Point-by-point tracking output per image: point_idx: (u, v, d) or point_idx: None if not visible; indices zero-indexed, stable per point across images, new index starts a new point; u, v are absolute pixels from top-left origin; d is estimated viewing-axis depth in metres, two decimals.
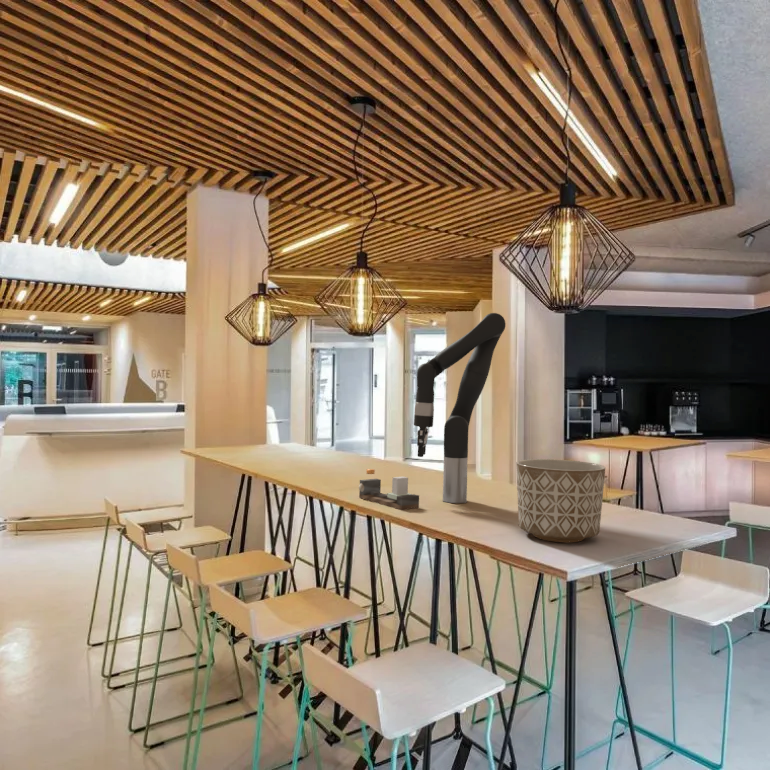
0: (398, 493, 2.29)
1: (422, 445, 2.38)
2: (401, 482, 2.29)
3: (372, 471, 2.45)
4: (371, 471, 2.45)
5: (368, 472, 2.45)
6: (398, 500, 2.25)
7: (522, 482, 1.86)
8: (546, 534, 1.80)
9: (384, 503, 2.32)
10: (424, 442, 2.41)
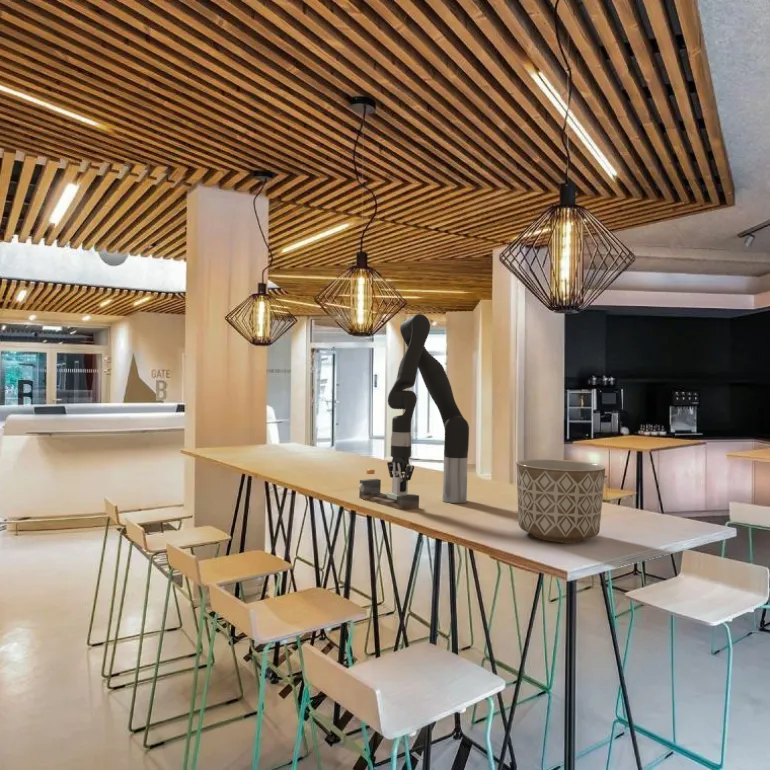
0: (398, 493, 2.29)
1: (390, 476, 2.34)
2: None
3: (372, 471, 2.45)
4: (371, 471, 2.45)
5: (368, 472, 2.45)
6: (398, 500, 2.25)
7: (522, 482, 1.86)
8: (546, 534, 1.80)
9: (384, 503, 2.32)
10: (394, 474, 2.32)
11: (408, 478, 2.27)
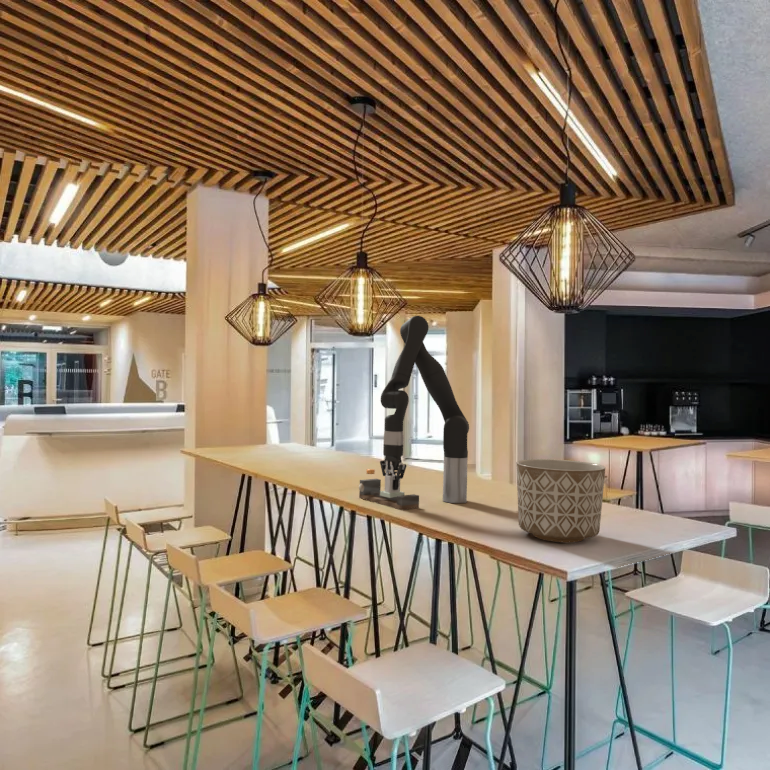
0: (390, 491, 2.32)
1: None
2: None
3: (372, 471, 2.45)
4: (371, 471, 2.45)
5: (368, 472, 2.45)
6: (398, 500, 2.25)
7: (522, 482, 1.86)
8: (546, 534, 1.80)
9: (384, 503, 2.32)
10: (387, 472, 2.35)
11: (400, 476, 2.31)
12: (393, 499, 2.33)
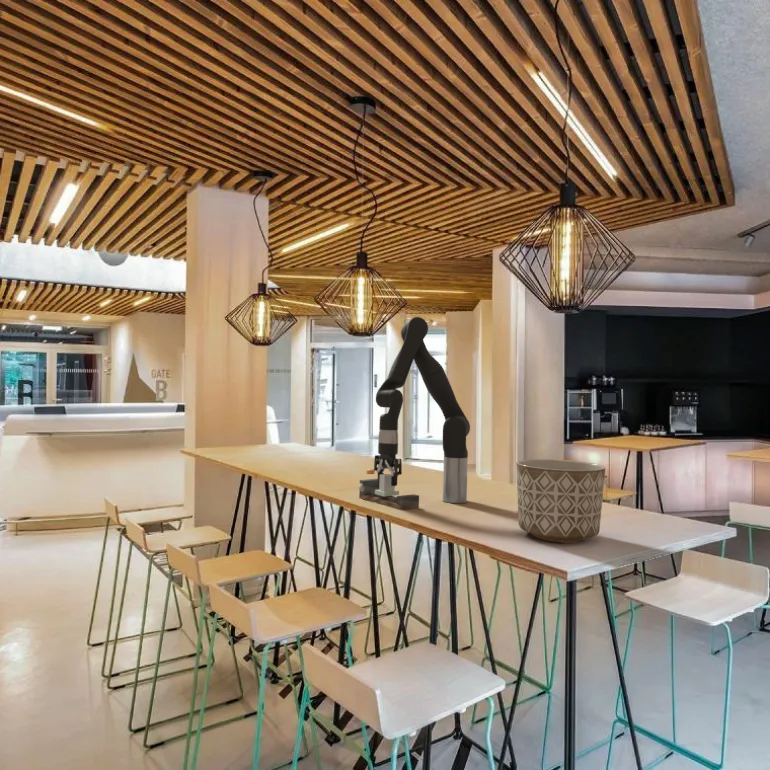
0: (385, 490, 2.35)
1: (374, 469, 2.42)
2: (388, 479, 2.36)
3: (372, 471, 2.45)
4: (371, 471, 2.45)
5: (368, 472, 2.45)
6: (398, 500, 2.25)
7: (522, 482, 1.86)
8: (546, 534, 1.80)
9: (384, 503, 2.32)
10: (379, 468, 2.39)
11: (399, 472, 2.32)
12: (393, 499, 2.33)
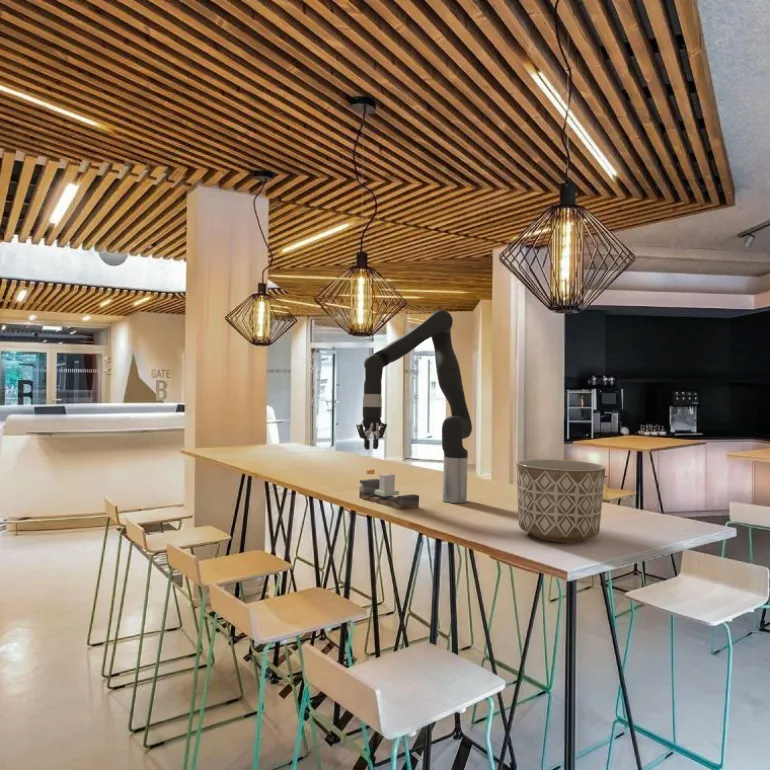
0: (385, 490, 2.35)
1: None
2: (388, 479, 2.36)
3: (372, 471, 2.45)
4: (371, 471, 2.45)
5: (368, 472, 2.45)
6: (398, 500, 2.25)
7: (522, 482, 1.86)
8: (546, 534, 1.80)
9: (384, 503, 2.32)
10: None
11: (362, 436, 2.43)
12: (393, 499, 2.33)
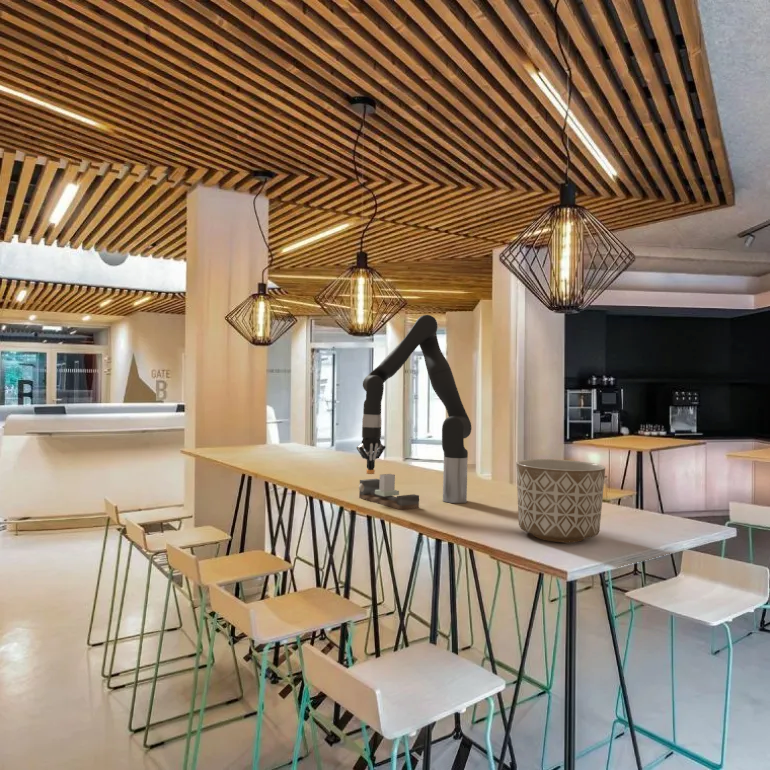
0: (385, 490, 2.35)
1: None
2: (388, 479, 2.36)
3: (372, 471, 2.45)
4: (371, 471, 2.45)
5: (368, 472, 2.45)
6: (398, 500, 2.25)
7: (522, 482, 1.86)
8: (546, 534, 1.80)
9: (384, 503, 2.32)
10: None
11: (364, 457, 2.44)
12: (393, 499, 2.33)
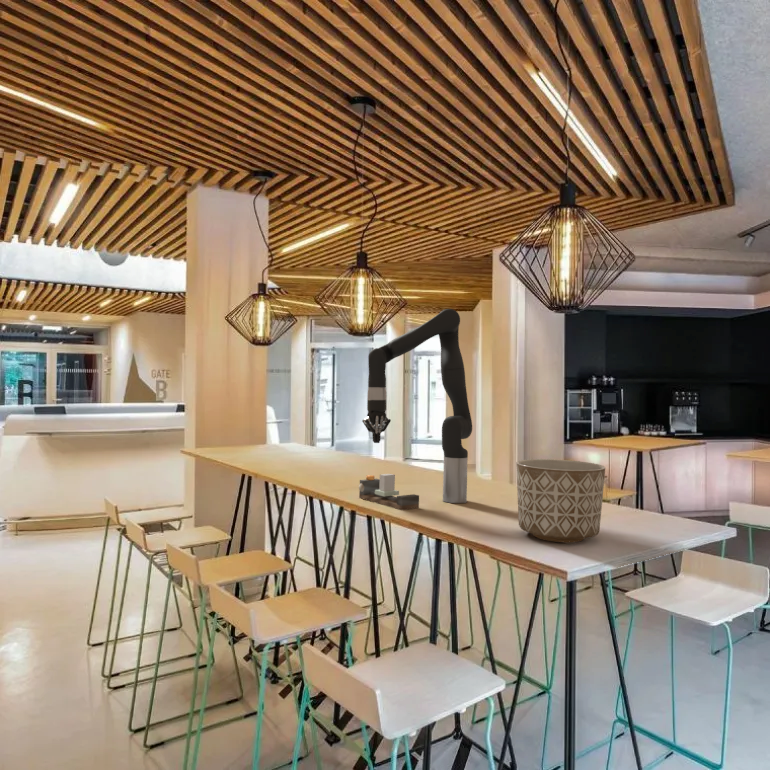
0: (385, 490, 2.35)
1: None
2: (388, 479, 2.36)
3: (372, 477, 2.45)
4: (371, 477, 2.45)
5: (368, 478, 2.45)
6: (398, 500, 2.25)
7: (522, 482, 1.86)
8: (546, 534, 1.80)
9: (384, 503, 2.32)
10: None
11: (370, 430, 2.44)
12: (393, 499, 2.33)
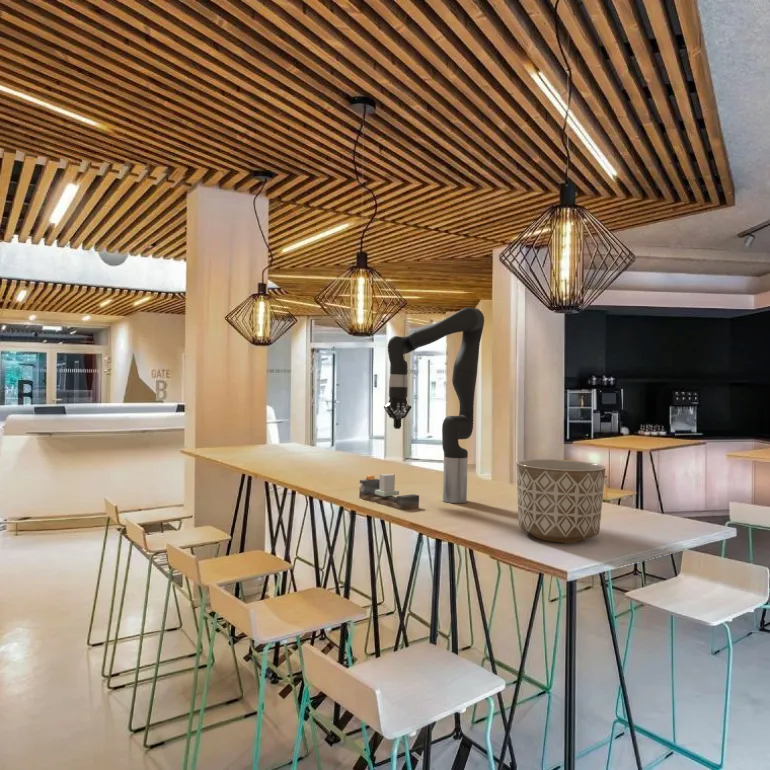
0: (385, 490, 2.35)
1: None
2: (388, 479, 2.36)
3: (372, 477, 2.45)
4: (371, 477, 2.45)
5: (368, 478, 2.45)
6: (398, 500, 2.25)
7: (522, 482, 1.86)
8: (546, 534, 1.80)
9: (384, 503, 2.32)
10: None
11: (391, 416, 2.50)
12: (393, 499, 2.33)
